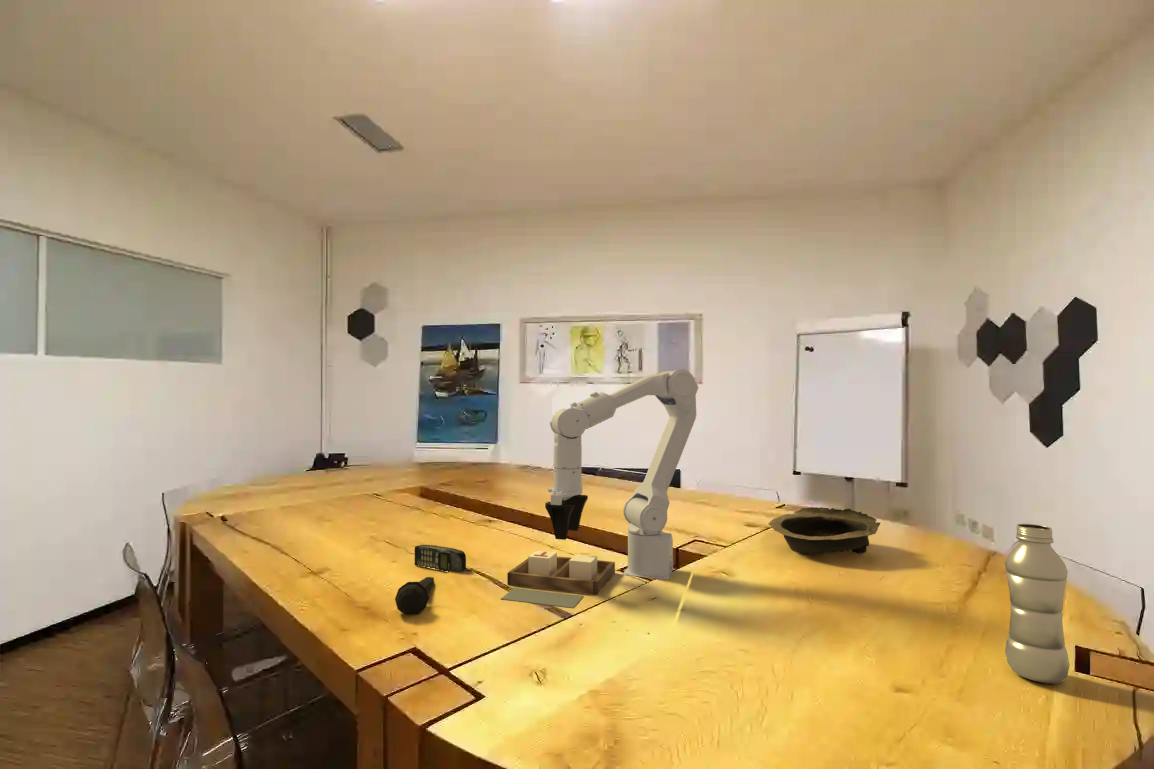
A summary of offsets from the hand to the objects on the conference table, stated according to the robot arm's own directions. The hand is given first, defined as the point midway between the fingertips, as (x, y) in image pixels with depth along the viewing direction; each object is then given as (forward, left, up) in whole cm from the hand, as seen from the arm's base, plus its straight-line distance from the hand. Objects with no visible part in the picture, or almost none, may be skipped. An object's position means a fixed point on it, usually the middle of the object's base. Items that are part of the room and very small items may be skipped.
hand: (567, 534), depth 111 cm
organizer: (+1, 0, -10) cm, 10 cm away
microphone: (+22, +17, -10) cm, 30 cm away
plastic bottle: (-72, +17, -10) cm, 75 cm away
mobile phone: (+29, 0, -10) cm, 30 cm away
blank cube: (-3, 0, -9) cm, 10 cm away
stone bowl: (-52, -40, -10) cm, 66 cm away
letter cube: (+5, 0, -9) cm, 11 cm away
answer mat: (+1, +11, -10) cm, 15 cm away
